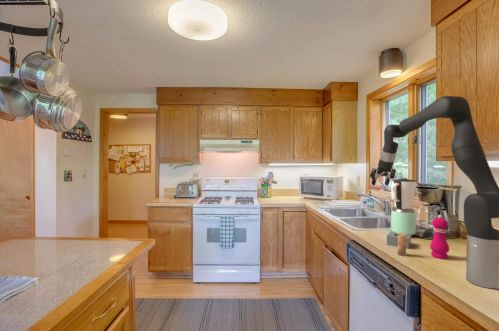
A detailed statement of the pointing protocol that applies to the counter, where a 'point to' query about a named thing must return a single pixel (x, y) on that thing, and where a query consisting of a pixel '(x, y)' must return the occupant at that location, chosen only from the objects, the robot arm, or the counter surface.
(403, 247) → the peg
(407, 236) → the socket block
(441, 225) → the pepper mill
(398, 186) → the juicer
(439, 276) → the counter surface
